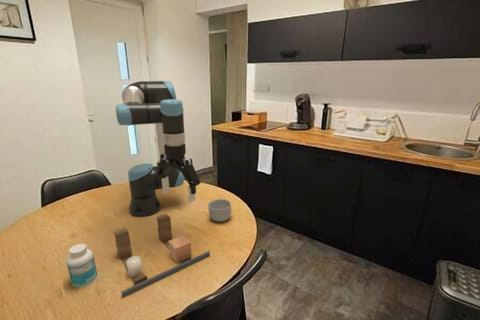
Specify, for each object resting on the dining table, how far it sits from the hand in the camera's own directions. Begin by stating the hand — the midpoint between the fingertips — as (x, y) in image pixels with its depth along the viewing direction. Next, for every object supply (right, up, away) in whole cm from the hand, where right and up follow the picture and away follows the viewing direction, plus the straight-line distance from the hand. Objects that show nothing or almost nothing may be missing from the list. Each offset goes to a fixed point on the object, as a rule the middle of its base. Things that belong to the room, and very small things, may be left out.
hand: (178, 196), depth 101 cm
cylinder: (-12, -24, -12) cm, 29 cm away
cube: (+2, -21, -4) cm, 22 cm away
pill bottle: (-28, -26, -14) cm, 41 cm away
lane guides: (-7, -23, -4) cm, 24 cm away
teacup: (+14, -13, +26) cm, 32 cm away
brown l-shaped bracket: (-14, -24, -9) cm, 30 cm away
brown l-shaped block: (-2, -21, +1) cm, 21 cm away
